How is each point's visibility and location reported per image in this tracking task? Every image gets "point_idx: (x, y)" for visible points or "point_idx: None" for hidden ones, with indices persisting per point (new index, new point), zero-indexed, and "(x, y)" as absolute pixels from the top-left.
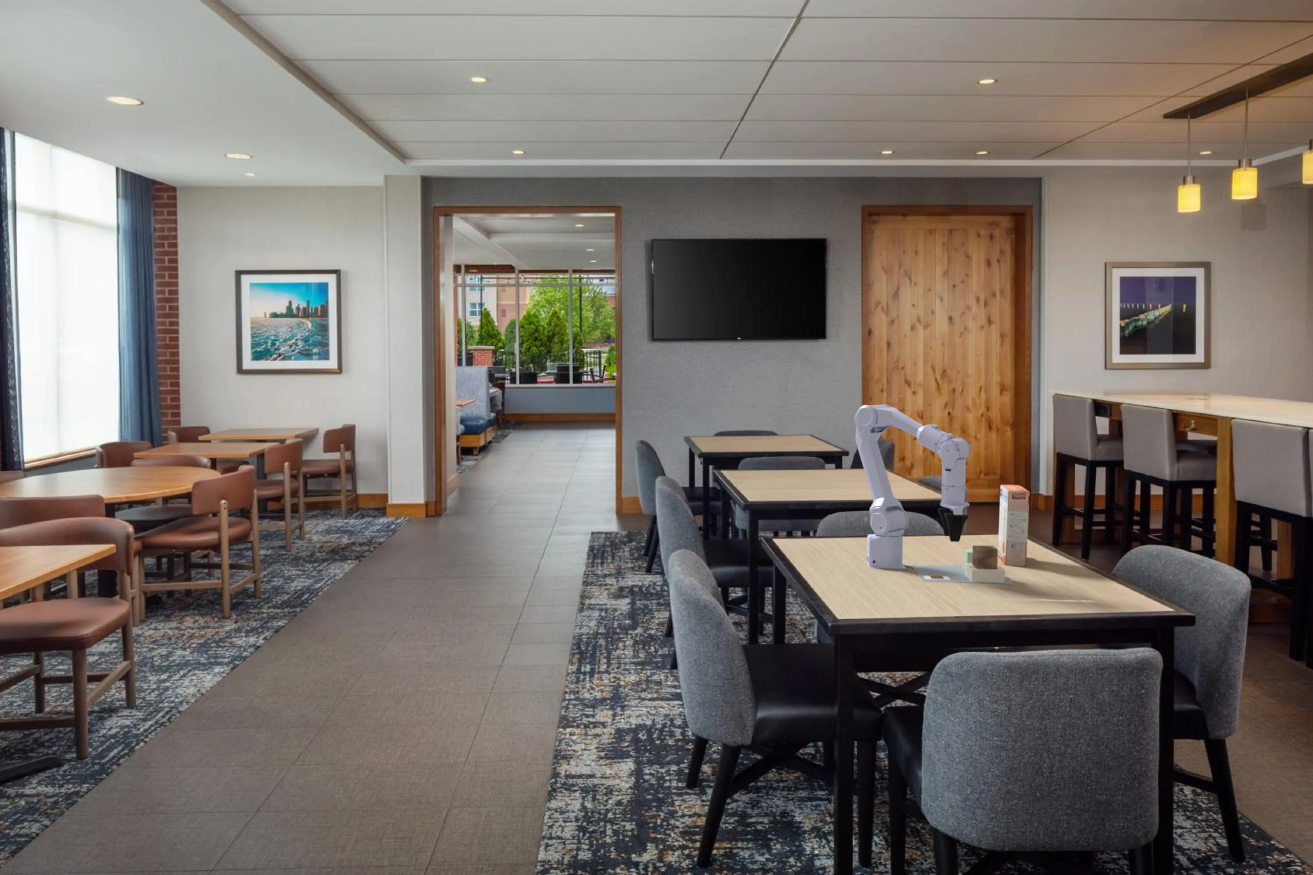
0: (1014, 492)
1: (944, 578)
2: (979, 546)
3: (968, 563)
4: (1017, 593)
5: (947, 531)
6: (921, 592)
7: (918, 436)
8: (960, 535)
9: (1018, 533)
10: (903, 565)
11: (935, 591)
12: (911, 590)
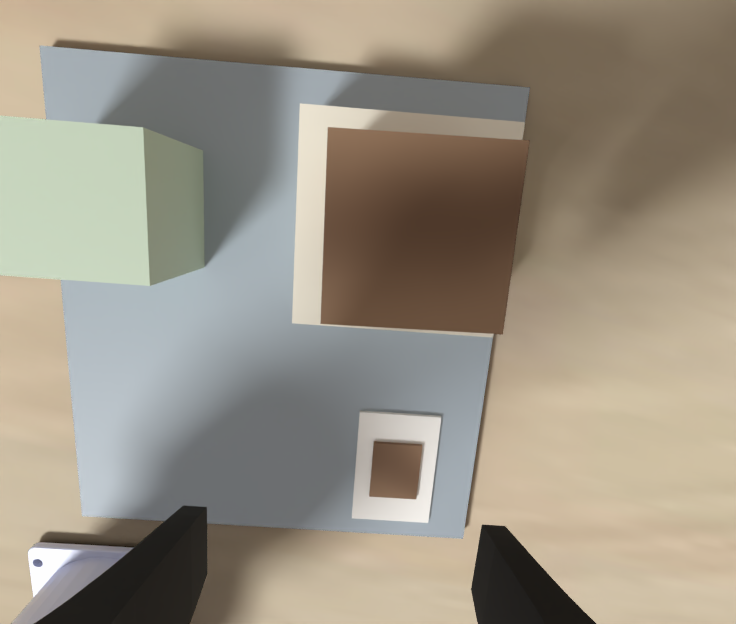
0: None
1: (416, 439)
2: (373, 276)
3: (297, 303)
4: (707, 139)
5: (189, 595)
6: (626, 573)
7: None
8: (543, 569)
9: None
10: (111, 552)
11: (615, 517)
12: (587, 601)
